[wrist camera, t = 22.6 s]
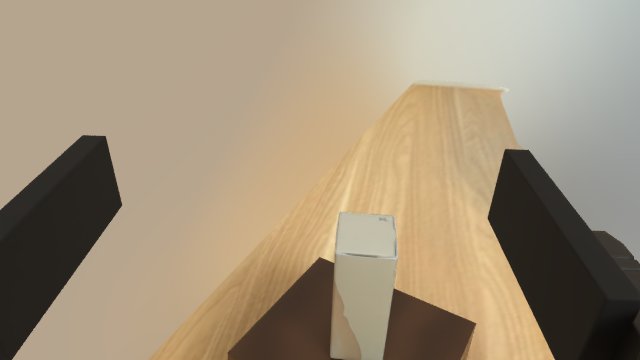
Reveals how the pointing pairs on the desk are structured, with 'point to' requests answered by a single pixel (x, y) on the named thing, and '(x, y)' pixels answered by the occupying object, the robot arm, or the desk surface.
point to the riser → (315, 326)
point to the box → (362, 285)
